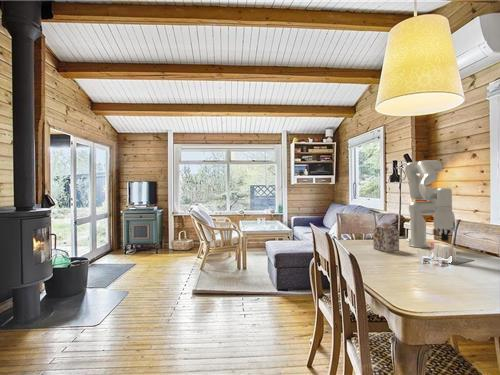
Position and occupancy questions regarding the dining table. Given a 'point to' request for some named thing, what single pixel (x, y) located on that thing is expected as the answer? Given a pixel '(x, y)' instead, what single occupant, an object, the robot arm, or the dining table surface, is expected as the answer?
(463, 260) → the mat
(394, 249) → the decorative jar
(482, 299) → the dining table surface
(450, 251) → the ink cartridge box
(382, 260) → the dining table surface
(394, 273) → the dining table surface
